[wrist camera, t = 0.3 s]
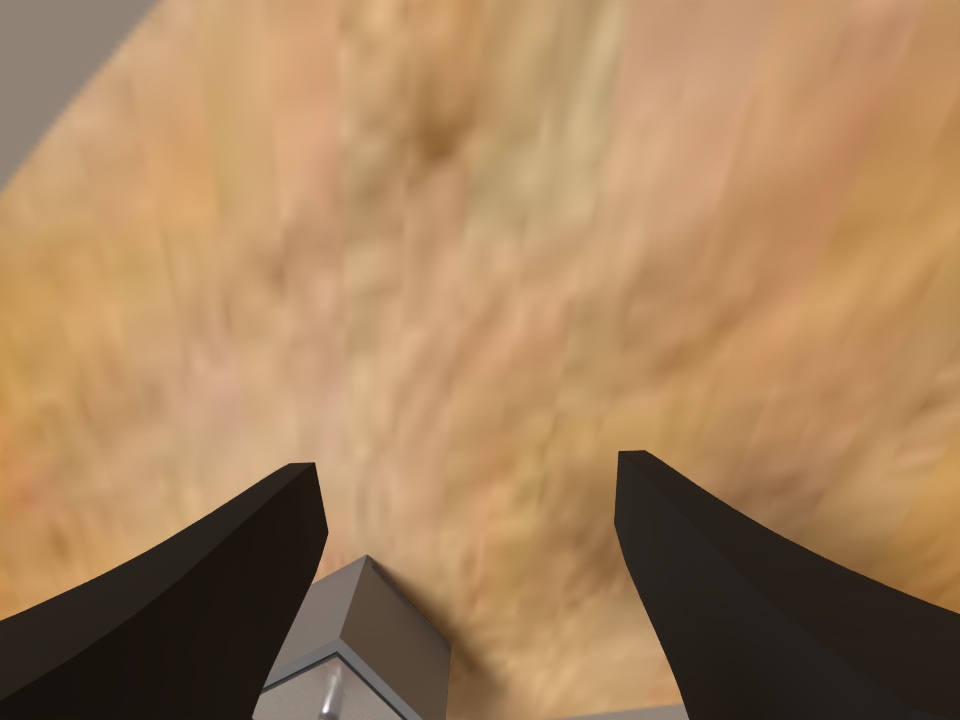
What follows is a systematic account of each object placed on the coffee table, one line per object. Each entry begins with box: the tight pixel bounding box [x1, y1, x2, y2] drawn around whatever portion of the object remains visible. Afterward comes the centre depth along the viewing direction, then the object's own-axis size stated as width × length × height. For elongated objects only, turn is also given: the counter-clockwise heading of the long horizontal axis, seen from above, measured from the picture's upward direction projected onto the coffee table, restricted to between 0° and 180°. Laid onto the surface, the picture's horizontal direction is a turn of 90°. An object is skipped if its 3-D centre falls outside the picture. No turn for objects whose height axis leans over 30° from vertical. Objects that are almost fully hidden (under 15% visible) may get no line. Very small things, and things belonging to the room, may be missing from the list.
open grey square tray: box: [251, 555, 451, 720], centre depth 23 cm, size 8×8×5 cm
